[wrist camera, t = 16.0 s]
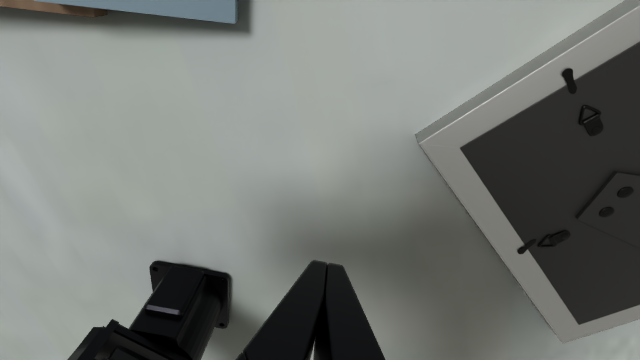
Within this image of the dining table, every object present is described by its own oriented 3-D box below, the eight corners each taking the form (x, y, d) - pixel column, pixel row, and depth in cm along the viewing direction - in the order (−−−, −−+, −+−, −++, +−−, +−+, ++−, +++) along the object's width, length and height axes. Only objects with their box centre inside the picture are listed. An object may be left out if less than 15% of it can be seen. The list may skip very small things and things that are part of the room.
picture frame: (799, 234, 22) (720, -69, 15) (853, 265, 20) (789, -79, 13) (549, 320, 28) (413, 129, 21) (567, 352, 26) (420, 148, 19)
